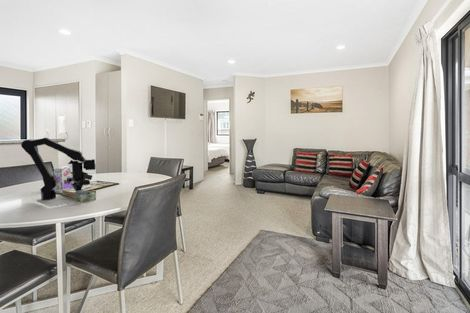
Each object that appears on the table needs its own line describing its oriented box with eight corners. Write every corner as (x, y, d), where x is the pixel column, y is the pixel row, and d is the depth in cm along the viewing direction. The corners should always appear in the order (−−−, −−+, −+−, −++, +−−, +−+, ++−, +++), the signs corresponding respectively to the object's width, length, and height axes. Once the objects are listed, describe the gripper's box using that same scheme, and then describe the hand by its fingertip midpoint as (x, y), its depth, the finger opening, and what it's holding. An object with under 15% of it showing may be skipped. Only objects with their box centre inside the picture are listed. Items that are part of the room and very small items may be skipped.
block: (80, 198, 160) (79, 192, 159) (76, 197, 162) (75, 191, 162) (88, 196, 164) (87, 190, 163) (84, 195, 167) (84, 189, 166)
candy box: (62, 191, 183) (60, 168, 181) (54, 190, 183) (52, 168, 181) (74, 186, 197) (73, 165, 195) (67, 186, 197) (65, 165, 195)
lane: (81, 202, 155) (80, 195, 154) (62, 196, 168) (62, 190, 168) (104, 197, 167) (104, 191, 166) (85, 192, 181) (85, 186, 180)
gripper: (97, 170, 165) (98, 193, 167) (83, 167, 175) (84, 189, 177) (79, 172, 156) (80, 197, 158) (65, 169, 166) (66, 192, 168)
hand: (78, 194), depth 165 cm, fingers closed
